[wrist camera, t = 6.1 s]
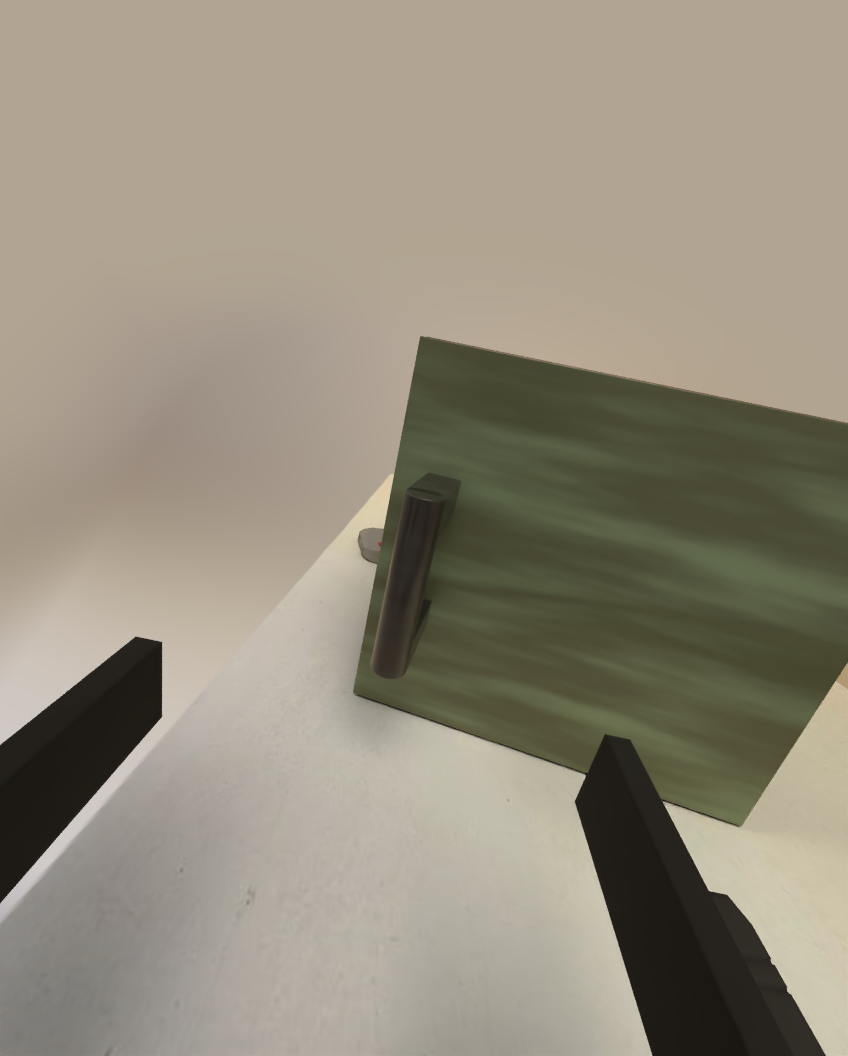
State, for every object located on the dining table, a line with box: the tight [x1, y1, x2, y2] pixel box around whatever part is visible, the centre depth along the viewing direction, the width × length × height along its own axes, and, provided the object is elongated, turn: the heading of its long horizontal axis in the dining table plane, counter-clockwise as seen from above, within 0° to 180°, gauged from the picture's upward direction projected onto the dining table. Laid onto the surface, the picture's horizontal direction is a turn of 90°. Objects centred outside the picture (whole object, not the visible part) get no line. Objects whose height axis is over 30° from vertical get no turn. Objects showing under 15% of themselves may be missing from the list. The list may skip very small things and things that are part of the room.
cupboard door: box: [353, 336, 848, 826], centre depth 22 cm, size 7×26×24 cm, turn 77°
